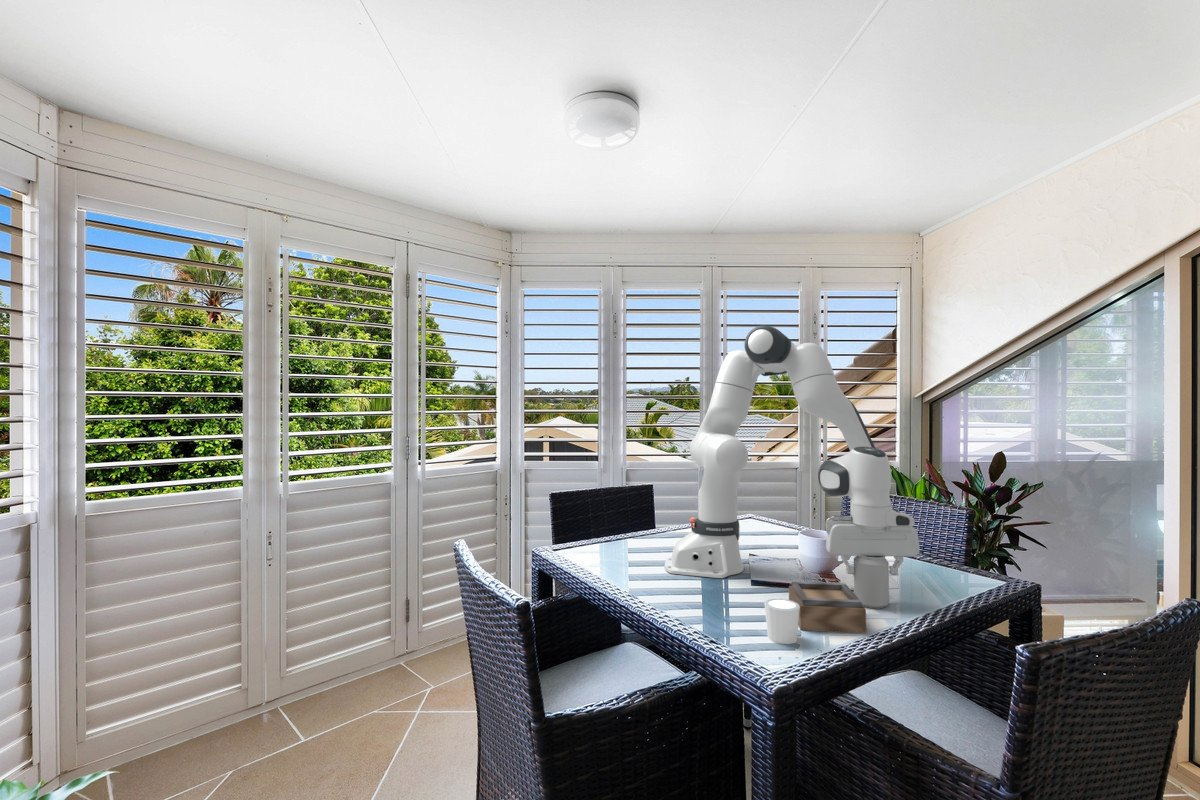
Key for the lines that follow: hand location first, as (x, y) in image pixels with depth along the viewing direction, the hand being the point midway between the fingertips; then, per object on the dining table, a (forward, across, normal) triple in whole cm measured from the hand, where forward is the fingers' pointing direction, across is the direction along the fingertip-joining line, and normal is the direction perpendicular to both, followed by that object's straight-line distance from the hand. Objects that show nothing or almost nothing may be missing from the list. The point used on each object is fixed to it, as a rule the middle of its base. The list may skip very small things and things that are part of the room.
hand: (872, 573), depth 132 cm
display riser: (+7, -14, -11) cm, 19 cm away
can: (+7, -1, -1) cm, 7 cm away
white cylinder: (+7, -25, -22) cm, 34 cm away
